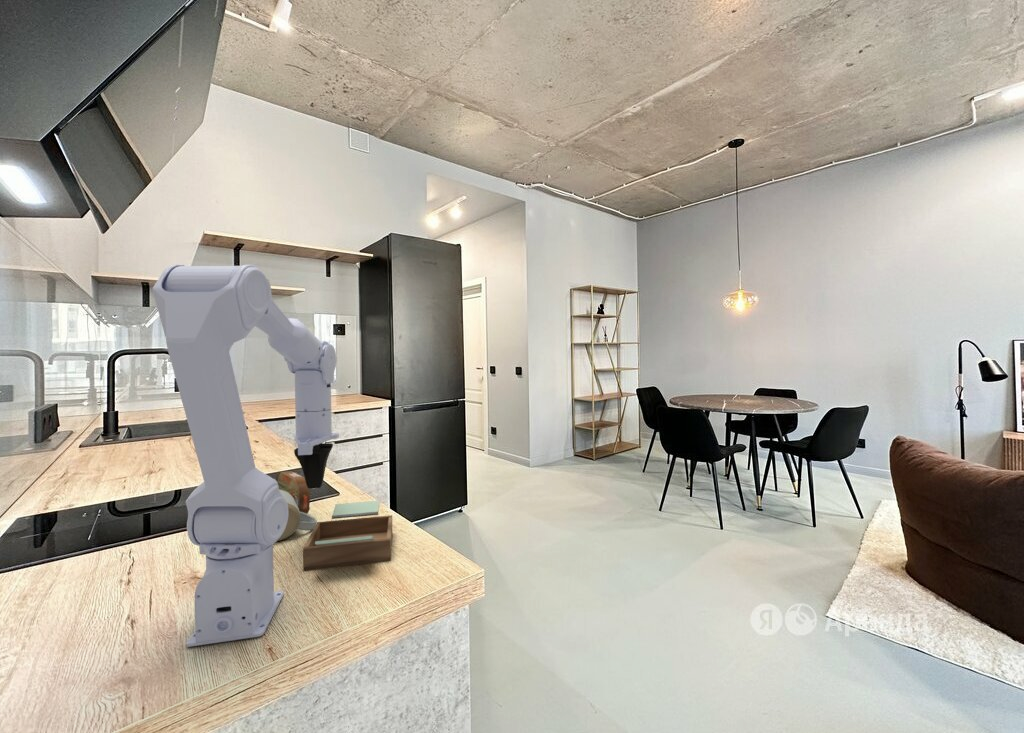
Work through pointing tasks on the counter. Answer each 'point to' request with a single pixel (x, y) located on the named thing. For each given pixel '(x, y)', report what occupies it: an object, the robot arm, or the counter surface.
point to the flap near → (344, 540)
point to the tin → (295, 489)
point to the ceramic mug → (296, 518)
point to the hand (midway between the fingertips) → (314, 487)
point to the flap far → (356, 509)
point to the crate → (349, 543)
